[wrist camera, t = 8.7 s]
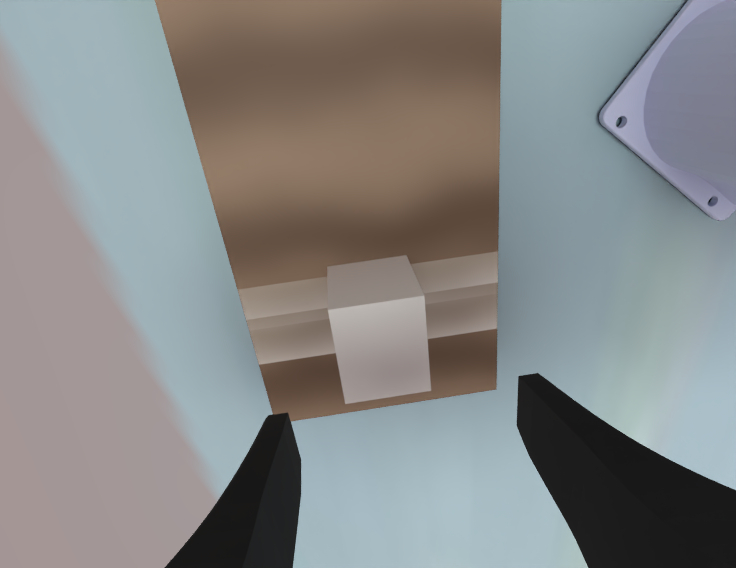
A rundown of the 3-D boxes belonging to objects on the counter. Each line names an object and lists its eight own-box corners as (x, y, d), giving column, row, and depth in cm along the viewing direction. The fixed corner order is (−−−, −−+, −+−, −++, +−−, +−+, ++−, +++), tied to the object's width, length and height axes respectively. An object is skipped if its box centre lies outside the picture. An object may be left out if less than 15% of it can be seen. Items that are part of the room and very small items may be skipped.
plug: (406, 317, 23) (431, 390, 18) (340, 328, 23) (345, 404, 18) (399, 239, 21) (424, 295, 16) (327, 250, 21) (327, 310, 16)
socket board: (481, 361, 26) (496, 389, 24) (280, 392, 26) (275, 423, 23) (478, -195, 15) (504, -241, 13) (133, -154, 15) (99, -194, 13)
